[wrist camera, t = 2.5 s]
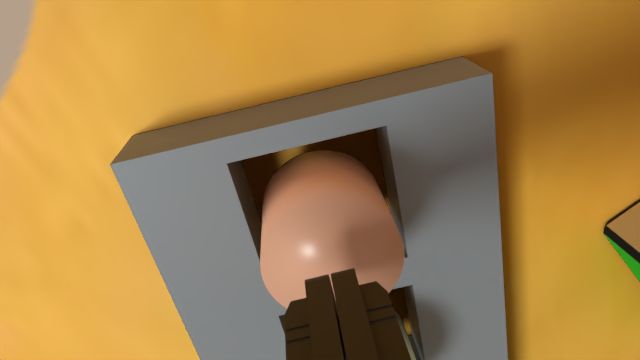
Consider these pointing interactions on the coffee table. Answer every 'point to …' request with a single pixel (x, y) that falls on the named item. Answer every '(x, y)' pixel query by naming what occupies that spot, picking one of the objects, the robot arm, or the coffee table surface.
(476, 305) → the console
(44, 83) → the coffee table surface
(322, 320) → the robot arm
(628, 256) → the puzzle cube
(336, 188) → the button terracotta
